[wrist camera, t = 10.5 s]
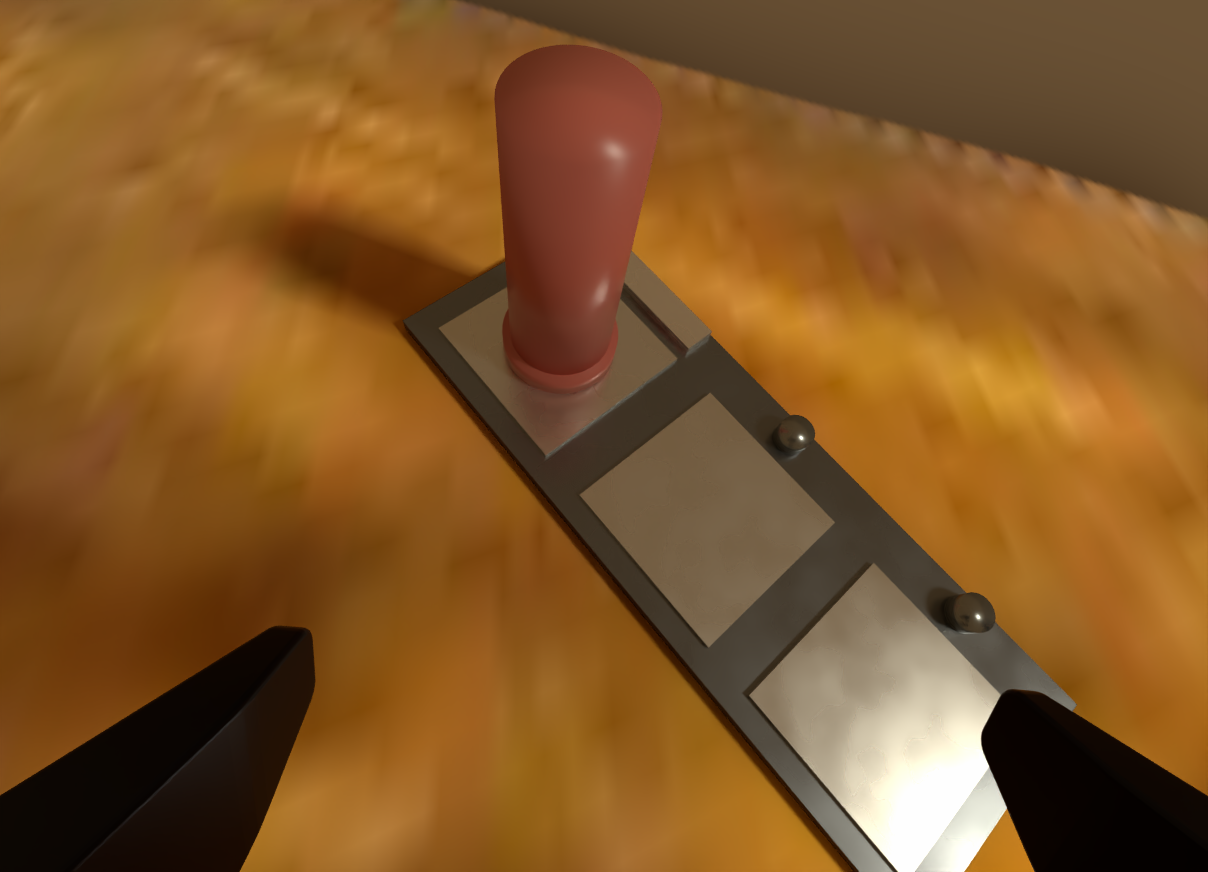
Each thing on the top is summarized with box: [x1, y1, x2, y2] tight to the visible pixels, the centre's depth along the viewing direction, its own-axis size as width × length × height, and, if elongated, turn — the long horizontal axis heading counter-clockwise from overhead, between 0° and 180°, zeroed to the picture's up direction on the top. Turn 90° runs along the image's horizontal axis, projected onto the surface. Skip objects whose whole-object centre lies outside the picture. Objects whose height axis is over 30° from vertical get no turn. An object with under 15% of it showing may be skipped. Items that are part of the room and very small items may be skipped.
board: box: [403, 251, 1077, 872], centre depth 22 cm, size 10×28×1 cm, turn 41°
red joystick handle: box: [495, 45, 662, 394], centre depth 19 cm, size 5×5×11 cm
